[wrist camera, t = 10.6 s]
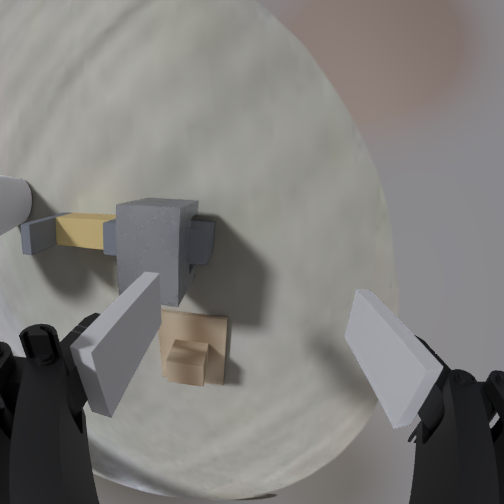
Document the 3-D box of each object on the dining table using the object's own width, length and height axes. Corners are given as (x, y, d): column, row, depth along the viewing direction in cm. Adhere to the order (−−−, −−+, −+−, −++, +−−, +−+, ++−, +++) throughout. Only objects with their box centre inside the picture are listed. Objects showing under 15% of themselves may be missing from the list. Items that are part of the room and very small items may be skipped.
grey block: (147, 270, 26) (119, 298, 20) (148, 197, 24) (116, 204, 18) (194, 276, 27) (178, 306, 20) (198, 200, 25) (180, 207, 18)
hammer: (64, 236, 27) (22, 253, 20) (63, 212, 27) (20, 224, 19) (213, 250, 28) (199, 277, 20) (214, 221, 27) (201, 237, 19)
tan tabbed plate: (164, 373, 32) (154, 398, 27) (159, 308, 30) (145, 330, 25) (223, 381, 32) (220, 408, 28) (227, 316, 30) (224, 341, 25)
